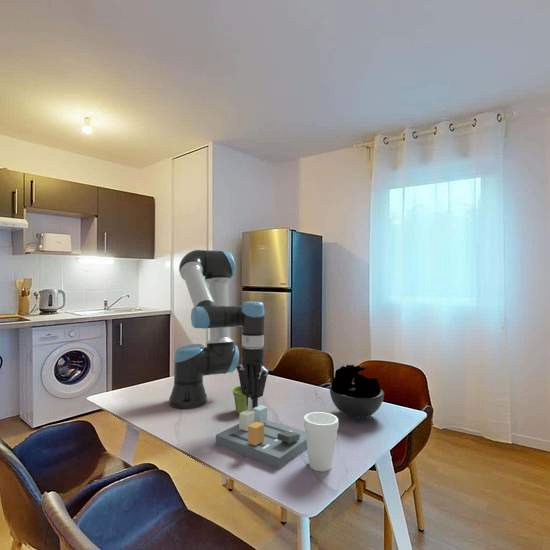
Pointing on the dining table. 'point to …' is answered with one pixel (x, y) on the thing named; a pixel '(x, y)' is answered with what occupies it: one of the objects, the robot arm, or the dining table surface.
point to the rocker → (288, 436)
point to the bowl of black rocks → (355, 392)
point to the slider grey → (260, 414)
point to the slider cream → (246, 419)
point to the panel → (264, 444)
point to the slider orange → (256, 433)
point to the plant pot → (239, 400)
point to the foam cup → (320, 439)
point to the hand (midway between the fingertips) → (251, 416)
